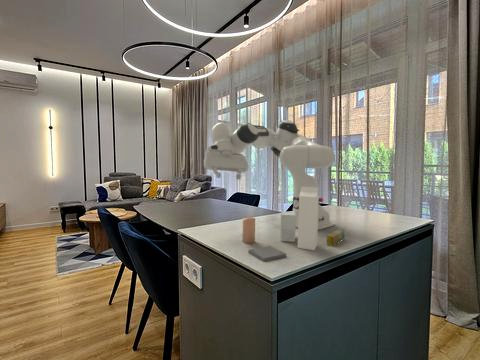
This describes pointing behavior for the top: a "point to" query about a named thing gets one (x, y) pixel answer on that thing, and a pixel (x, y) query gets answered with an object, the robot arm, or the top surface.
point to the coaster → (267, 253)
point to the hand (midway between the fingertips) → (229, 177)
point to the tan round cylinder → (248, 230)
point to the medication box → (335, 237)
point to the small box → (288, 226)
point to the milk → (308, 218)
